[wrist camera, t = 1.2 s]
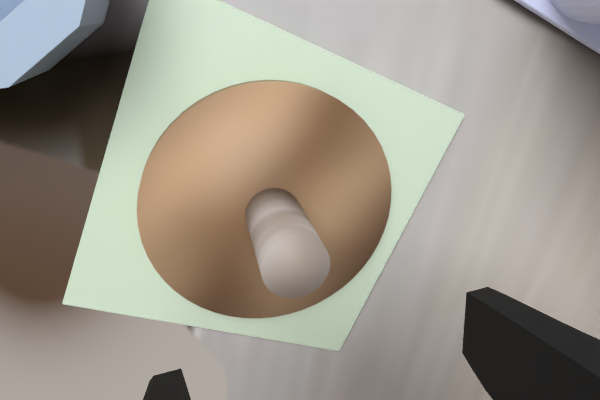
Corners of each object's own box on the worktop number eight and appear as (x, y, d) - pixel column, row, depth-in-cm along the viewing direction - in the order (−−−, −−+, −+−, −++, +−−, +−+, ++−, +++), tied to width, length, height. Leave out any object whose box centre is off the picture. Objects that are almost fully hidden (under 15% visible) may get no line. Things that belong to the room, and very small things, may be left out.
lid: (423, 133, 19) (498, 170, 15) (326, 325, 23) (363, 405, 18) (185, 33, 16) (186, 42, 11) (108, 282, 19) (82, 371, 14)
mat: (460, 113, 20) (464, 114, 20) (337, 347, 24) (339, 351, 24) (157, -28, 15) (157, -29, 15) (64, 299, 19) (62, 303, 18)
